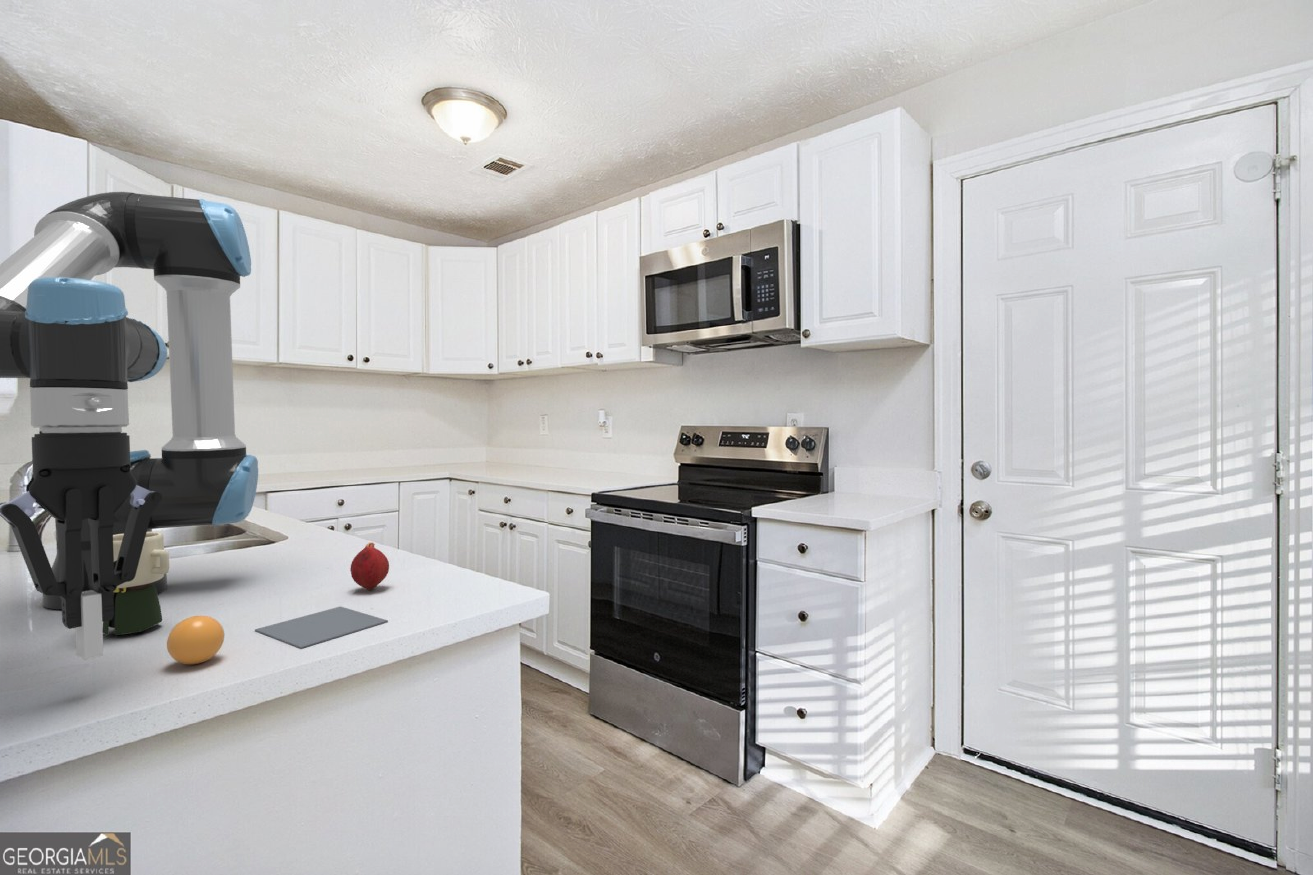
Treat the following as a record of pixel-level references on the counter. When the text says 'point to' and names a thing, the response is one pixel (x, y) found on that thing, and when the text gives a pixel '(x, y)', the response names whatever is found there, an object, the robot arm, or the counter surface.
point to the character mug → (139, 588)
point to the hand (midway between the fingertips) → (89, 654)
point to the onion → (369, 567)
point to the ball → (195, 640)
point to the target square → (320, 626)
